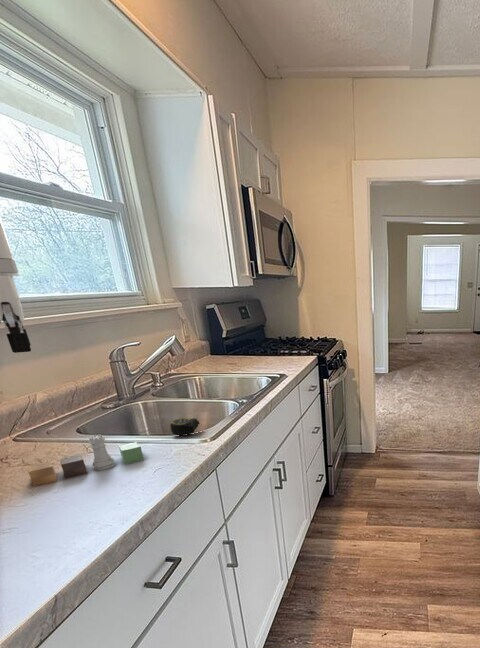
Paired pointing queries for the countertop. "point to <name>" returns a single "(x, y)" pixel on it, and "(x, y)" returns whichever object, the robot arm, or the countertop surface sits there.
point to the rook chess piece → (100, 453)
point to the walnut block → (73, 466)
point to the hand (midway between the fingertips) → (22, 349)
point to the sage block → (131, 452)
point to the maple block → (42, 473)
